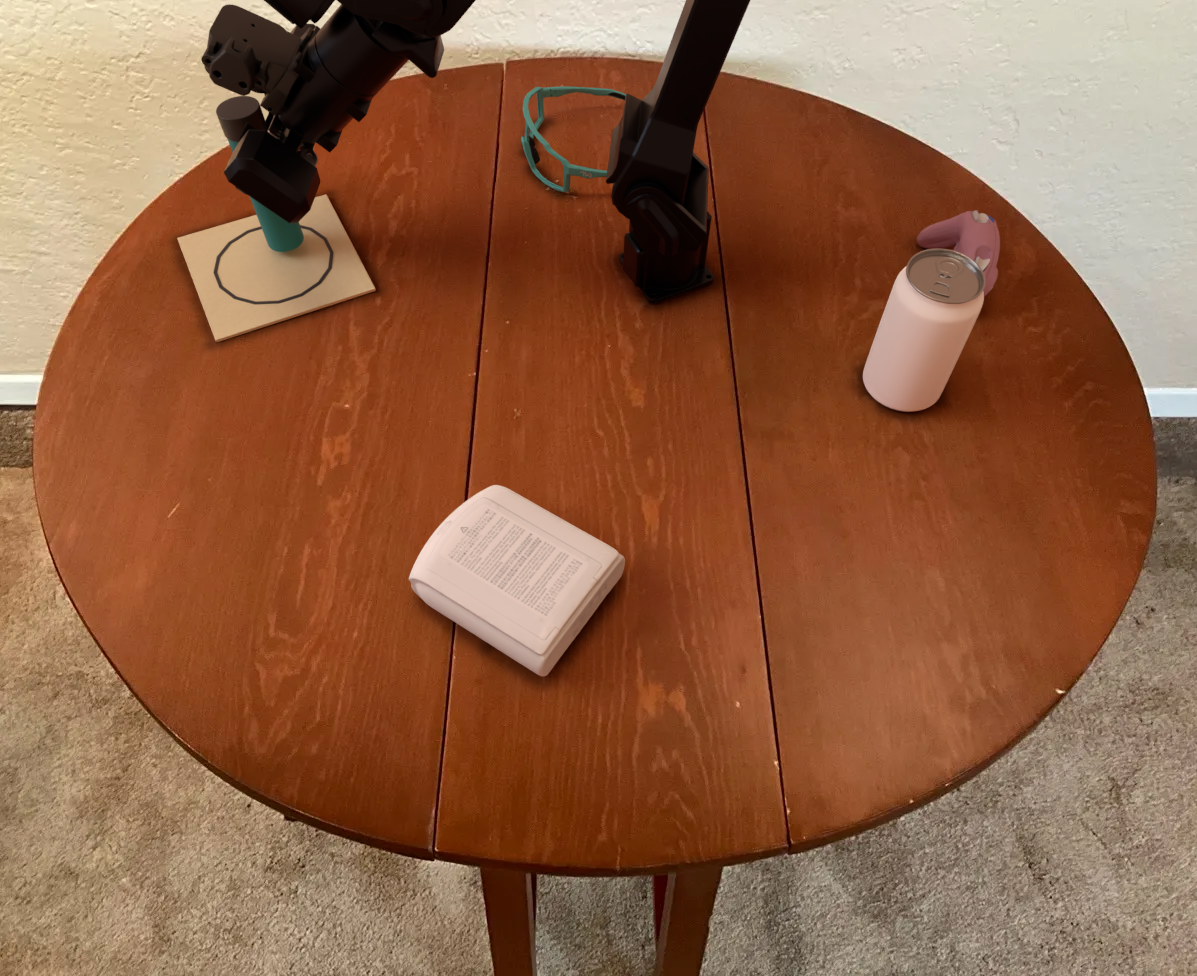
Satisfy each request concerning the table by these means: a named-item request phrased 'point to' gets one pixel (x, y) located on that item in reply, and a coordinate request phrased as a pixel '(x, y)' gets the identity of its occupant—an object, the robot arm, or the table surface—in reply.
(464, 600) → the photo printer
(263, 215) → the water bottle
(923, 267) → the can
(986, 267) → the video game controller
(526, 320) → the table surface
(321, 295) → the sketch sheet
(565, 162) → the sunglasses
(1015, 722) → the table surface
